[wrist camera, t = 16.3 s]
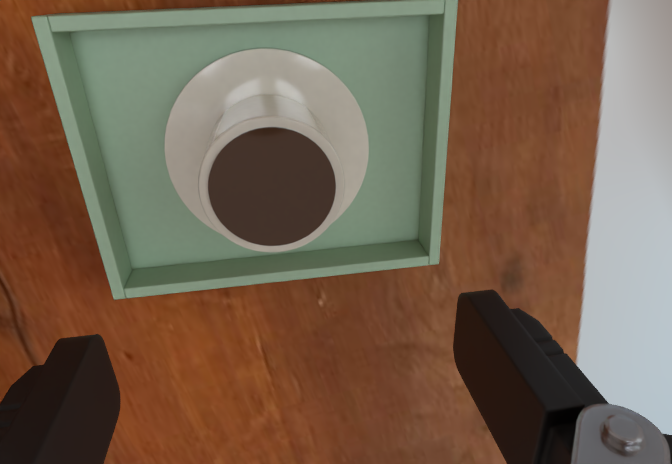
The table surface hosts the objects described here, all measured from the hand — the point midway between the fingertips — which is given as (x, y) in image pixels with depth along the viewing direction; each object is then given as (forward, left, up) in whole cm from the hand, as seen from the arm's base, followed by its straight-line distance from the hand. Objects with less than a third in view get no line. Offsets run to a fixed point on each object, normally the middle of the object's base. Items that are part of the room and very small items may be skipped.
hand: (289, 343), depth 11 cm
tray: (0, 0, -16) cm, 16 cm away
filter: (0, 0, -15) cm, 15 cm away
